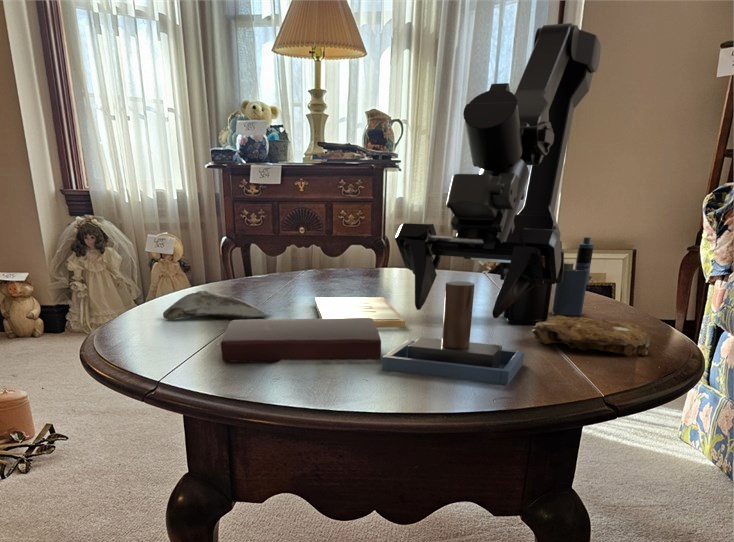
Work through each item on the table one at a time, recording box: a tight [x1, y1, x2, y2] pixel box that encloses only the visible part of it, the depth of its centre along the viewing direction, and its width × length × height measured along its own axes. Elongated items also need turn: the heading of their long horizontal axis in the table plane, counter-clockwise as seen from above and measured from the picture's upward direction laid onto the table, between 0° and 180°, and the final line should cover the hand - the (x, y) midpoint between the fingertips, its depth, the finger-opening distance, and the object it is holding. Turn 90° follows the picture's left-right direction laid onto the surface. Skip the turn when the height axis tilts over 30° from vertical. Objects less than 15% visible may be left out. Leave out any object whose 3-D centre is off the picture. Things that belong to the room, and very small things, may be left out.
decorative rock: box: [531, 315, 651, 357], centre depth 87 cm, size 11×4×15 cm
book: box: [220, 317, 382, 363], centre depth 84 cm, size 12×19×3 cm, turn 94°
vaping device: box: [551, 237, 595, 317], centre depth 107 cm, size 3×5×12 cm, turn 89°
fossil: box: [162, 290, 267, 320], centre depth 105 cm, size 11×5×15 cm
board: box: [314, 296, 406, 329], centre depth 105 cm, size 20×12×2 cm, turn 7°
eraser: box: [408, 280, 503, 368], centre depth 75 cm, size 10×5×10 cm, turn 67°
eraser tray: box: [381, 339, 525, 386], centre depth 77 cm, size 15×10×2 cm, turn 67°
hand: (454, 311), depth 74 cm, fingers open, 9 cm apart
